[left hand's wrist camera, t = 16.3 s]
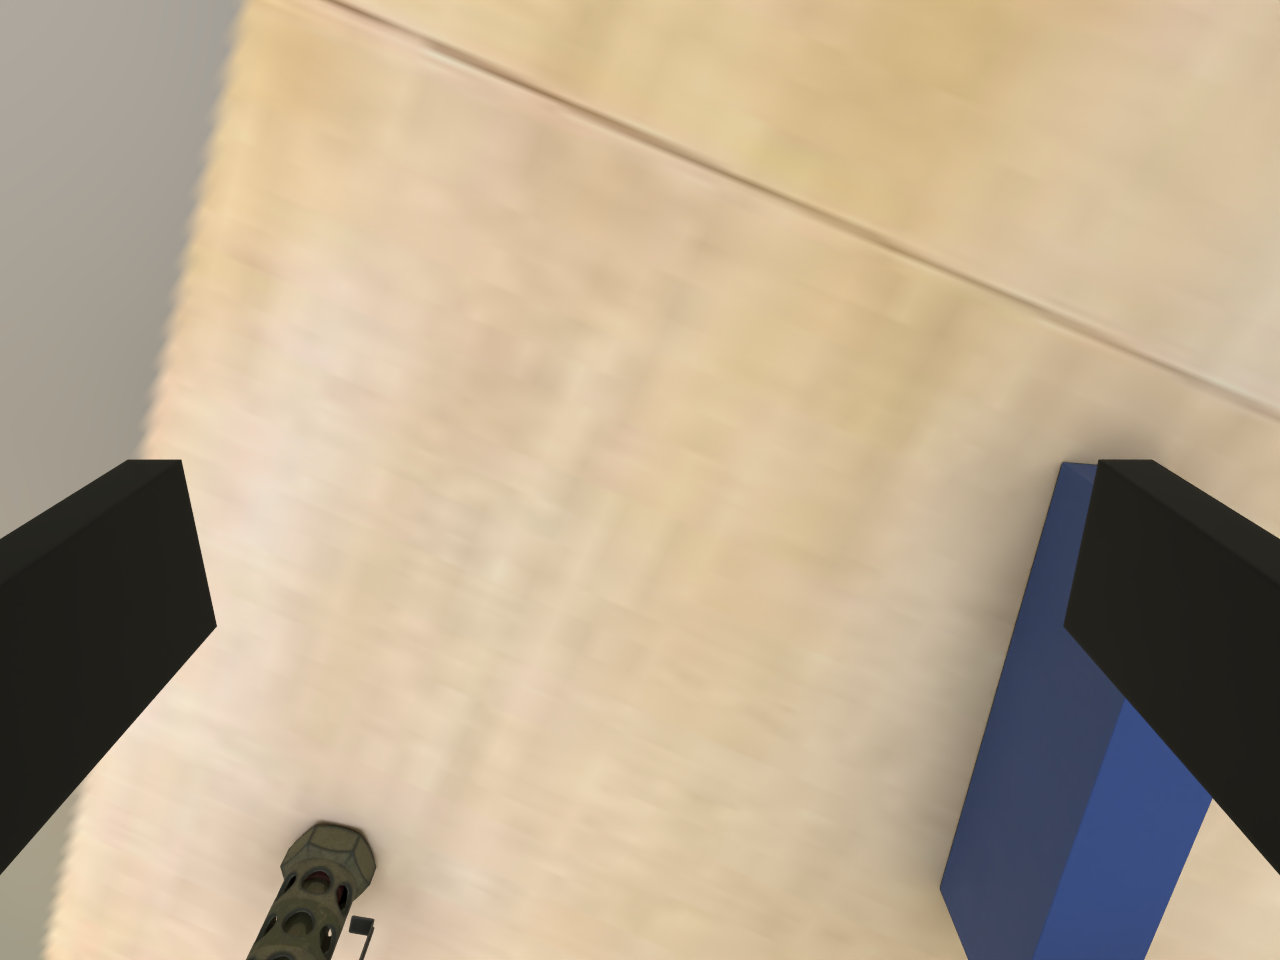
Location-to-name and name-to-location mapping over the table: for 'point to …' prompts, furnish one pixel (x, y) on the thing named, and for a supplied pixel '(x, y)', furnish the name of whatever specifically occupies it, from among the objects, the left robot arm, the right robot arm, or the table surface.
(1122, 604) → the left robot arm
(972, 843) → the bar
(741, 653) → the table surface
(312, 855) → the grenade
